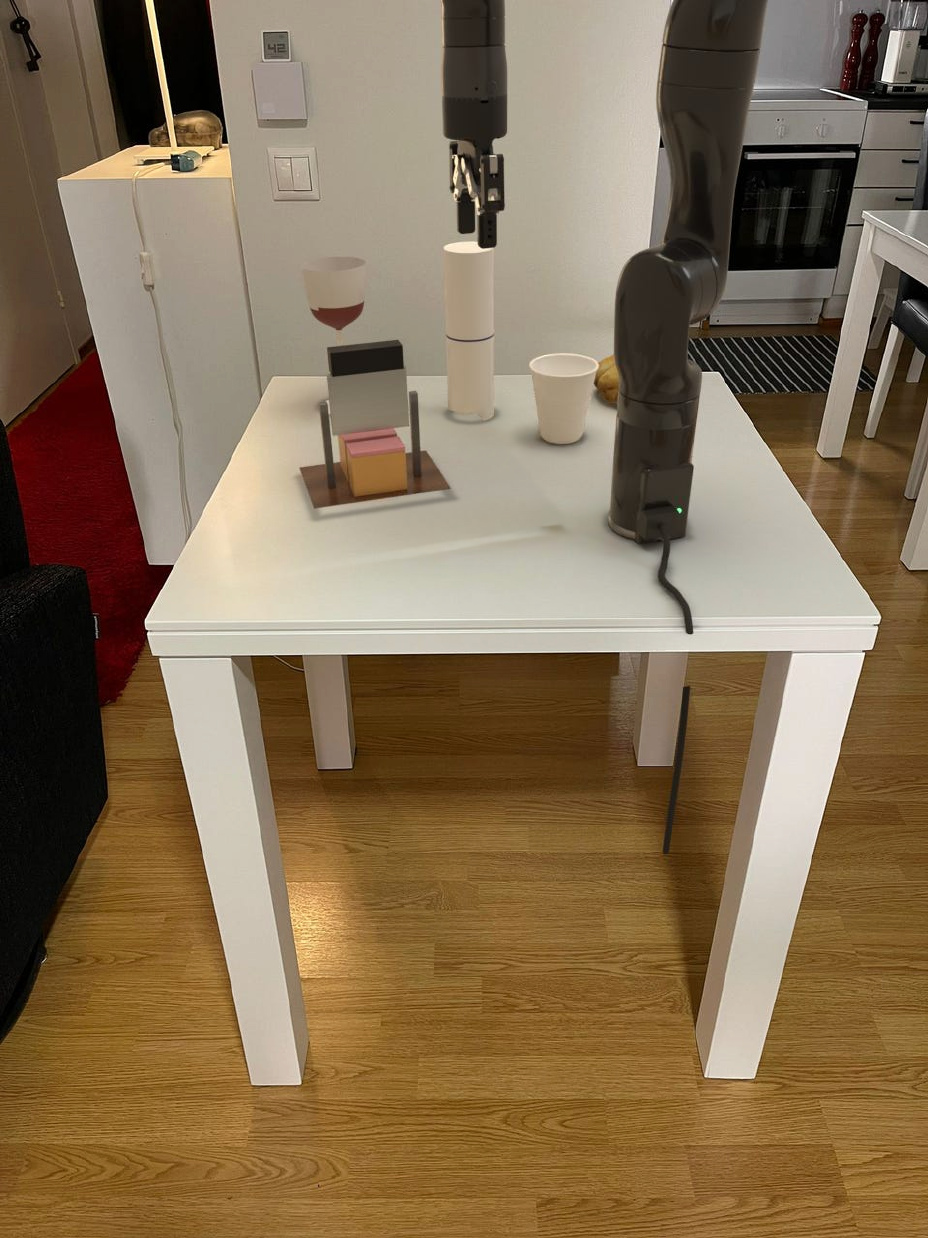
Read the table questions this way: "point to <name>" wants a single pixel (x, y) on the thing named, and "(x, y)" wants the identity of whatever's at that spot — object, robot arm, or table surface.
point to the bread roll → (607, 380)
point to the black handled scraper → (367, 387)
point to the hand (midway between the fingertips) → (476, 240)
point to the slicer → (334, 488)
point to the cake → (373, 461)
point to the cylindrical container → (470, 328)
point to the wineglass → (335, 291)
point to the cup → (562, 394)
